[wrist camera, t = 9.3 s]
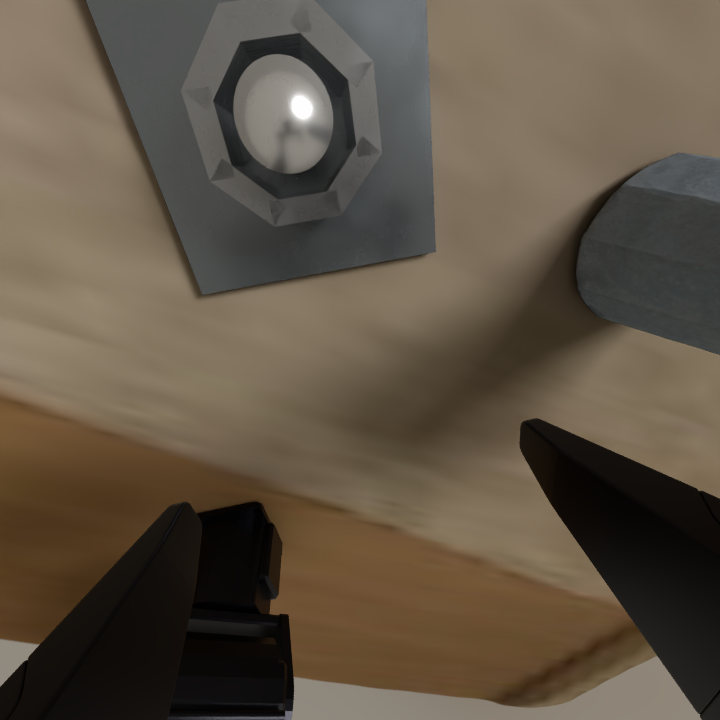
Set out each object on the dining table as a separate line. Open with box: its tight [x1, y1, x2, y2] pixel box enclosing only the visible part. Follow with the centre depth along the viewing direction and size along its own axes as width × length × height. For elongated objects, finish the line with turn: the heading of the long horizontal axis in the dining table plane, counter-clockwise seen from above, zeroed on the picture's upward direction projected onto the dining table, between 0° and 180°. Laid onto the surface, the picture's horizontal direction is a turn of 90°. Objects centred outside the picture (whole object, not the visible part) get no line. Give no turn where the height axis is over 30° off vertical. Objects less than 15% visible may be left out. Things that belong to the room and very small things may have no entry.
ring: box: [181, 0, 382, 227], centre depth 13 cm, size 6×6×3 cm
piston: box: [86, 0, 436, 295], centre depth 13 cm, size 12×12×5 cm
